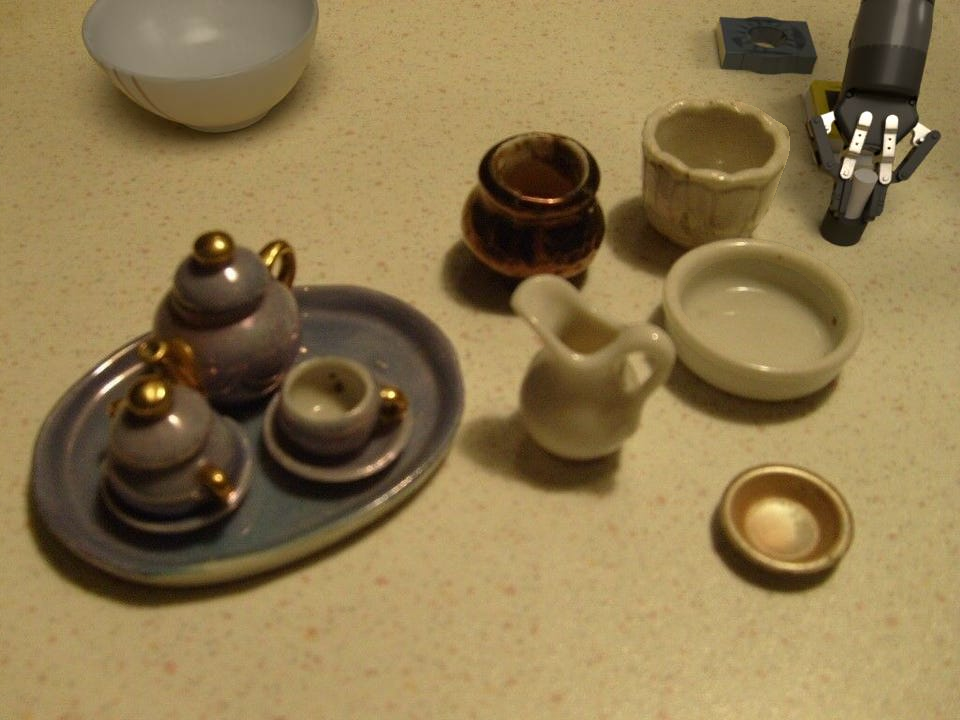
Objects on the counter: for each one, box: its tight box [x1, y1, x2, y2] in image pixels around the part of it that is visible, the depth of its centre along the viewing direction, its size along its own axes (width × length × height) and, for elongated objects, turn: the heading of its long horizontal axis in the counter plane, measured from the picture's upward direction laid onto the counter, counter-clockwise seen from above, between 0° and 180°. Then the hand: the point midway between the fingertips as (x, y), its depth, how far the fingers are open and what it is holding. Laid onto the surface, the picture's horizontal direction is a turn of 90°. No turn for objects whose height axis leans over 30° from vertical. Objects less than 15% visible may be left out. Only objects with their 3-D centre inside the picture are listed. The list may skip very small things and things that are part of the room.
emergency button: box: [800, 79, 895, 171], centre depth 105 cm, size 9×4×15 cm
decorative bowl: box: [81, 0, 320, 134], centre depth 104 cm, size 27×27×12 cm
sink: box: [715, 16, 818, 75], centre depth 117 cm, size 12×10×2 cm
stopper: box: [819, 168, 878, 247], centre depth 92 cm, size 4×4×8 cm
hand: (854, 218), depth 91 cm, fingers closed on stopper, 2 cm apart
